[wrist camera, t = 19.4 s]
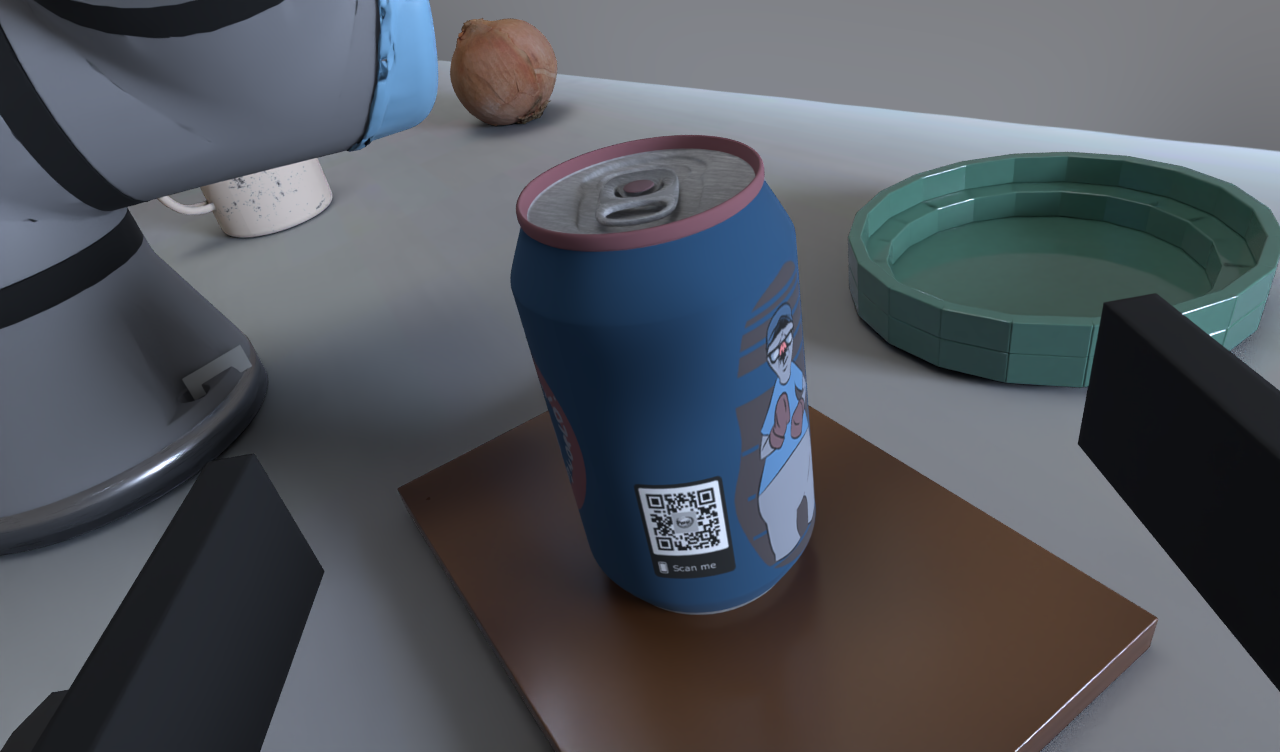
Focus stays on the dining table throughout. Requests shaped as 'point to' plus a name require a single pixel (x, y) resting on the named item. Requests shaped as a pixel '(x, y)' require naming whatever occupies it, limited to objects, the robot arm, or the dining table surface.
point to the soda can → (672, 364)
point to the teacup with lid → (263, 199)
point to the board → (781, 617)
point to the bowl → (1054, 259)
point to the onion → (503, 71)
